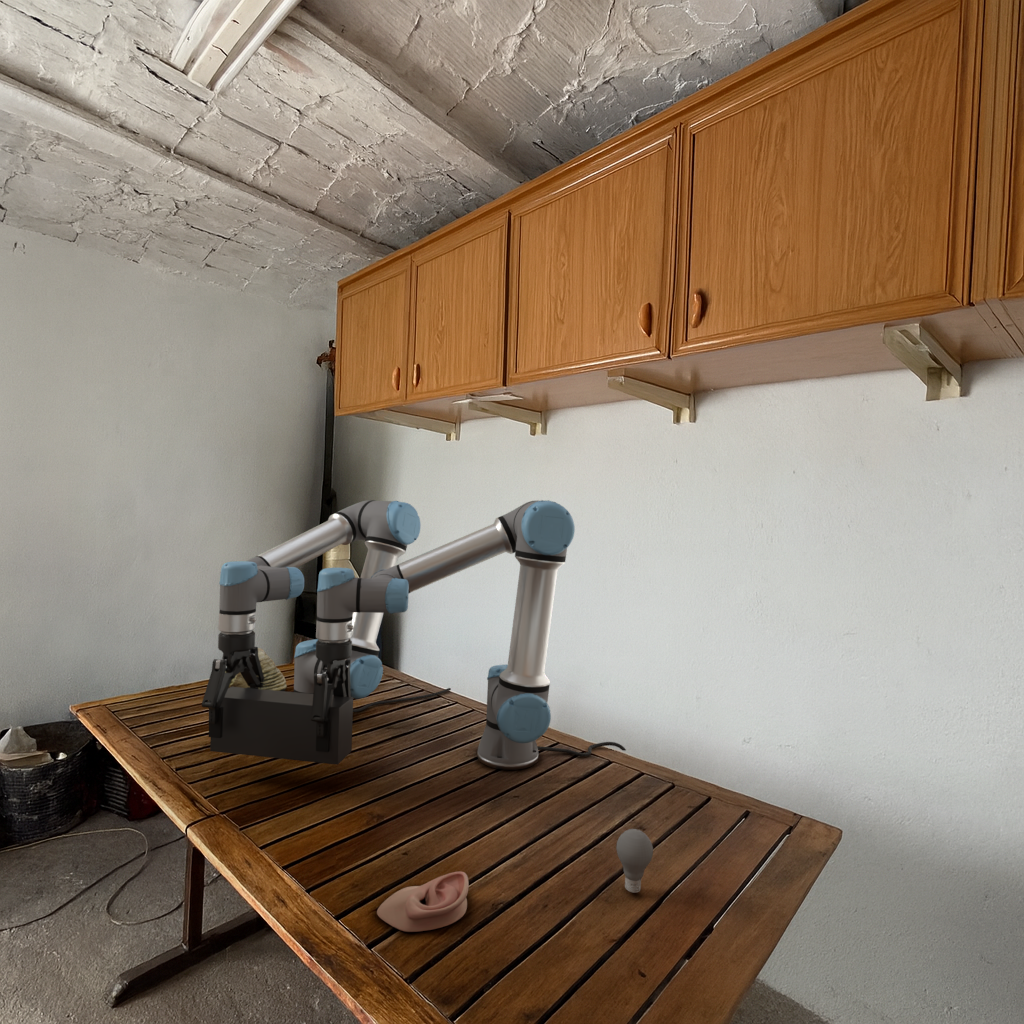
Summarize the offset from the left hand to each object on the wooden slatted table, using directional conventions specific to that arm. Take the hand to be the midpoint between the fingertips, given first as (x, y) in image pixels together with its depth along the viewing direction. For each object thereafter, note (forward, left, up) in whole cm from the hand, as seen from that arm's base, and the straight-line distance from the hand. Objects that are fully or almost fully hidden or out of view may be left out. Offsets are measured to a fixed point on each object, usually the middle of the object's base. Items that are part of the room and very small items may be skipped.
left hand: (234, 726), depth 141 cm
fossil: (-33, -49, -11) cm, 60 cm away
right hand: (-11, +20, -2) cm, 23 cm away
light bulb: (-24, +87, -11) cm, 91 cm away
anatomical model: (+3, +65, -11) cm, 66 cm away
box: (-6, +10, -4) cm, 12 cm away
